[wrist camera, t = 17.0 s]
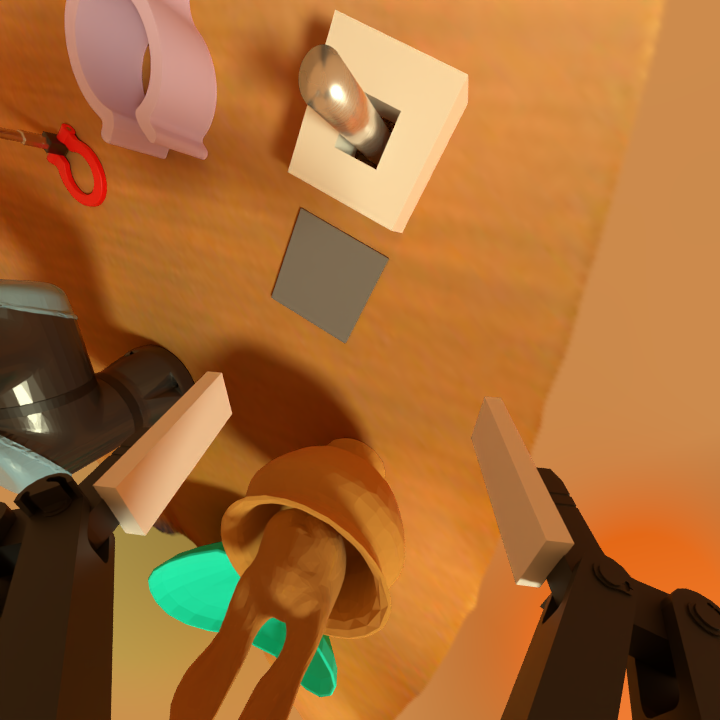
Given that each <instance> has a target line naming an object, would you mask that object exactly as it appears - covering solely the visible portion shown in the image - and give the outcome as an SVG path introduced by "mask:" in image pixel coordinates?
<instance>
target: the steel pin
mask: <svg viewBox="0 0 720 720" xmlns="http://www.w3.org/2000/svg"><path fill="white" fill-rule="evenodd" d="M299 89H300V93H301V95H302V97H303V99H304V101H305V102H306V103H307V104H308V105H309V106H310V107H311V108H312V109H313V110H314V111H315V112H317V113H318V114H319V115H320V116H321V117H322V118H323V119H324V120H326V121H327V122H328V123H329V124H330V125H331V126H332V127H333V128H334V129H336V130H337V131H338V132H339V133H340V134H341V135H342V136H343V137H345V138H346V139H347V140H348V141H349V142H350V143H351V144H352V145H354V146H355V147H356V148H357V149H358V150H359V151H360V152H361V153H362V154H364V155H365V156H366V157H367V158H368V159H369V160H370V161H371V162H373V163H374V164H376V165H378V164H379V162H380V159H381V157H382V155H383V152H384V150H385V148H386V145H387V143H388V140H389V138H390V136H391V132H390V131H389V129H388V128H387V126H386V125H385V123H384V122H383V120H382V119H381V117H380V116H379V114H378V113H377V111H376V110H375V108H374V107H373V105H372V104H371V102H370V101H369V99H368V98H367V96H366V94H365V93H364V91H363V90H362V88H361V87H360V85H359V84H358V82H357V81H356V79H355V78H354V76H353V75H352V73H351V72H350V70H349V69H348V67H347V66H346V64H345V63H344V61H343V60H342V58H341V57H340V55H339V54H338V52H337V51H336V50H335V49H334V48H332V47H331V46H329V45H324V44H323V45H317V46H315V47H313V48H312V49H311V50H310V51H309V52H308V53H307V54H306V55H305V57H304V59H303V61H302V63H301V66H300V70H299Z"/></svg>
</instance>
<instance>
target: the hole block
mask: <svg viewBox="0 0 720 720" xmlns="http://www.w3.org/2000/svg"><path fill="white" fill-rule="evenodd" d="M325 45H329V46H331V47H332V48H334V49H335V50H336V51H337V52H338V54H339V55H340V57H341V58H342V60H343V61H344V63H345V64H346V66H347V67H348V69H349V70H350V72H351V73H352V75H353V76H354V78H355V79H356V81H357V82H358V84H359V85H360V87H361V88H362V90H363V91H364V93H365V94H366V96H367V98H368V99H369V101H370V102H371V104H372V105H373V107H374V108H375V110H376V111H377V113H378V114H379V115H380V116H382V117H383V118H385V119H387V120H389V121H391V122H393V123H395V126H394V129H393V131H392V133H391V136H390V138H389V140H388V143H387V145H386V148H385V150H384V152H383V155H382V157H381V159H380V162H379V164H378V166H377V169H374V168H372V167H370V166H368V165H367V164H365V163H363V162H361V161H359V160H357V159H356V158H354V157H355V155H356V152H357V148H356V147H355V146H354V145H352V144H351V143H350V142H349V141H348V140H347V139H346V138H345V137H343V136H342V135H341V134H340V133H339V132H338V131H337V130H336V129H334V128H333V127H332V126H331V125H330V124H329V123H328V122H327V121H326V120H324V119H323V118H322V117H321V116H320V115H319V114H318V113H317V112H315V111H314V110H313V109H312V108H311V107H310V106H309V105H307V108H306V112H305V115H304V118H303V122H302V125H301V129H300V132H299V136H298V139H297V142H296V146H295V149H294V153H293V156H292V159H291V163H290V166H289V170H288V172H289V173H290V174H292V175H294V176H296V177H297V178H299V179H301V180H303V181H305V182H306V183H308V184H310V185H312V186H313V187H315V188H317V189H319V190H320V191H322V192H324V193H326V194H328V195H329V196H331V197H333V198H335V199H336V200H338V201H340V202H342V203H343V204H345V205H347V206H349V207H351V208H352V209H354V210H356V211H358V212H359V213H361V214H363V215H365V216H366V217H368V218H370V219H372V220H373V221H375V222H377V223H379V224H381V225H382V226H384V227H386V228H388V229H389V230H391V231H395V232H400V233H402V232H403V230H404V228H405V226H406V224H407V222H408V220H409V218H410V216H411V214H412V212H413V210H414V208H415V206H416V204H417V202H418V200H419V198H420V196H421V194H422V192H423V191H424V189H425V187H426V185H427V183H428V181H429V179H430V177H431V175H432V173H433V171H434V169H435V167H436V165H437V163H438V161H439V159H440V157H441V155H442V153H443V151H444V149H445V147H446V145H447V143H448V141H449V139H450V137H451V135H452V133H453V132H454V130H455V128H456V126H457V124H458V122H459V120H460V118H461V116H462V114H463V112H464V110H465V108H466V106H467V104H468V74H466V73H464V72H462V71H460V70H458V69H455V68H453V67H451V66H449V65H447V64H445V63H443V62H441V61H439V60H437V59H435V58H433V57H431V56H429V55H427V54H425V53H423V52H421V51H419V50H417V49H414V48H412V47H410V46H408V45H406V44H404V43H402V42H400V41H398V40H396V39H394V38H392V37H390V36H388V35H386V34H384V33H382V32H380V31H378V30H376V29H374V28H371V27H369V26H367V25H365V24H363V23H361V22H359V21H357V20H355V19H353V18H351V17H349V16H347V15H345V14H343V13H341V12H339V11H337V10H335V13H334V16H333V20H332V23H331V26H330V30H329V33H328V37H327V40H326V43H325Z"/></svg>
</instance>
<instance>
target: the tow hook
mask: <svg viewBox="0 0 720 720" xmlns="http://www.w3.org/2000/svg"><path fill="white" fill-rule="evenodd" d="M75 133H76V132H75V130H74V129H73V128H72V127H71V126H69V125H67V124H62V126H61V128H60V130H59V132H58V134H53V133H48V132H44V131H43V133H42V135H41V134H36V133H32V132H27V131H23V130H17V131H14V130H10V129H5V128H1V127H0V138H2V139H7V140H12V141H17V142H20V143H22V144H24V145H28V146H33V147H38V148H43V149H44V150H45V151H46V152H47V153H49V154H48V156H47V160H48V161H49V162H50V163H52V164H54V165H56V167H57V168H58V170H59V174H60V176H61V179H62V181H63V183H64V185H65V187H66V188H67V190H68V191H69V192H70V194H71V195H72V196H73V197H74V198H75V199H76V200H77V201H78V202H80V203H81V204H83V205H86V206H92V207H95V206H99V205H100V204H102V203H103V201H104V199H105V197H106V193H107V182H106V177H105V173H104V170H103V168H102V165H101V163H100V161H99V160H98V158H97V156H96V155H95V153H94V152H93V151H92V149H90V148H89V147H88V146H87V145H86V144H85V143H83V142H81V141H79V140H78V139H77V137H76V136H75ZM68 150H69V151H71V152H77V153H79V154H81V155H82V156H83V157H84V158H85V160H86V161H87V162H88V164H89V166H90V168H91V170H92V173H93V177H94V189H93V191H92V193H91V194H89V195H87V194H85V193H83V192H82V191H81V190H80V189H79V188H78V186H77V185H76V183H75V182H74V180H73V177H72V175H71V171H70V164H69V162H68V161H67V159H66V158H65V157H64V156H65V155H66V154H67V152H68Z"/></svg>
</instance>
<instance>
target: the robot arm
mask: <svg viewBox="0 0 720 720" xmlns="http://www.w3.org/2000/svg"><path fill="white" fill-rule="evenodd" d="M77 319H78V317H77V315H75V314H74V312H73V310H72V307H71V305H70V302H69V300H68V297H67V295H66V294H65V292H64V291H63V290H62V289H61V288H59V287H58V286H56V285H53V284H50V283H46V282H38V281H26V280H8V279H0V486H2V487H4V488H5V489H8V490H9V491H12V492H15V493H18V495H17V497H16V499H15V500H14V503H16V505H17V506H18V507H19V508H20V509H15V510H11V509H10V508H9V507H8V506H7V505H6V504H5V503H2V502H0V720H111V685H112V642H113V599H114V557H115V537H114V534H113V531H114V530H115V529H116V527H117V526H118V525H119V524H120V525H121V527H122V528H123V530H124V531H125V532H126V533H131V534H138V535H146V534H147V532H148V531H149V530H150V528H151V527H152V526H153V524H154V523H155V521H156V520H157V519H158V517H159V516H160V514H161V513H162V512H163V510H164V509H165V507H166V506H167V504H168V503H169V502H170V500H171V499H172V497H173V496H174V495H175V493H176V492H177V490H178V489H179V488H180V486H181V485H182V483H183V482H184V481H185V479H186V478H187V476H188V475H189V474H190V472H191V471H192V469H193V468H194V467H195V465H196V464H197V462H198V461H199V460H200V458H201V457H202V455H203V454H204V453H205V451H206V450H207V448H208V447H209V446H210V444H211V443H212V441H213V440H214V438H215V437H216V436H217V434H218V433H219V431H220V430H221V429H222V427H223V426H224V424H225V423H226V422H227V420H228V419H229V417H230V416H231V415H232V411H231V407H230V403H229V399H228V395H227V391H226V387H225V383H224V379H223V375H222V373H220V372H209V371H207V372H206V373H205V374H204V375H203V376H202V377H201V378H200V379H199V380H198V381H197V382H196V383H195V384H194V383H193V380H192V378H191V376H190V374H189V372H188V371H187V369H186V368H185V367H184V365H183V364H182V363H181V362H180V361H179V360H178V359H177V358H176V357H175V356H174V355H173V354H172V353H170V352H169V351H167V350H166V349H164V348H161V347H159V346H155V345H146V346H142V347H139V348H136V349H133V350H131V351H129V352H128V353H126V354H125V355H124V356H123V357H121V358H119V359H118V360H116V361H115V362H114V363H112V364H111V365H109V366H108V367H107V368H105V369H104V370H102V371H101V372H98V373H94V370H93V367H92V364H91V361H90V358H89V356H88V353H87V350H86V347H85V344H84V341H83V338H82V335H81V332H80V329H79V326H78V323H77ZM471 439H472V442H473V445H474V449H475V452H476V455H477V458H478V462H479V465H480V468H481V471H482V475H483V478H484V481H485V485H486V488H487V491H488V494H489V498H490V501H491V504H492V507H493V511H494V514H495V517H496V520H497V524H498V527H499V530H500V533H501V537H502V540H503V543H504V547H505V549H506V553H507V556H508V560H509V563H510V566H511V569H512V573H513V576H514V579H515V582H516V584H517V585H526V586H532V587H541V585H542V584H543V583H544V581H545V580H546V579H547V581H548V584H549V587H550V589H551V592H552V593H551V594H550V595H549V596H548V598H547V599H546V600H545V601H544V602H543V604H542V605H541V606H540V607H541V608H543V609H544V610H543V612H542V615H541V617H540V620H539V623H538V625H537V628H536V630H535V633H534V635H533V638H532V641H531V643H530V646H529V648H528V651H527V654H526V656H525V659H524V661H523V664H522V666H521V669H520V671H519V674H518V677H517V679H516V682H515V684H514V687H513V690H512V692H511V695H510V697H509V700H508V702H507V705H506V708H505V710H504V713H503V715H502V718H501V720H618V714H619V708H620V702H621V696H622V690H623V683H624V678H625V672H626V669H627V677H628V685H629V694H630V703H631V711H632V720H720V608H719V607H718V606H717V605H715V604H714V603H713V602H712V601H711V600H709V599H707V598H706V597H704V596H702V595H701V594H699V593H697V592H694V591H692V590H689V589H676V590H675V591H673V592H672V593H671V594H667V593H665V592H663V591H661V590H658V589H656V588H653V587H651V586H648V585H646V584H644V583H642V582H639V581H637V580H635V579H633V578H631V577H630V575H629V574H628V573H627V572H626V571H625V570H624V568H623V567H622V566H620V565H619V564H618V563H617V562H615V561H614V560H613V559H611V558H609V557H607V556H606V555H605V554H604V553H603V551H602V550H601V548H600V547H599V545H598V543H597V541H596V540H595V538H594V536H593V534H592V532H591V531H590V529H589V527H588V526H587V524H586V522H585V520H584V519H583V517H582V515H581V513H580V512H579V510H578V508H576V505H575V503H574V501H573V499H572V497H570V496H569V492H568V491H567V489H566V487H565V485H564V483H563V482H562V480H561V479H560V478H558V476H557V475H556V474H555V473H554V472H553V471H552V470H551V469H546V468H536V466H535V464H534V462H533V460H532V458H531V456H530V454H529V452H528V450H527V448H526V447H525V445H524V443H523V441H522V439H521V437H520V435H519V433H518V431H517V429H516V427H515V425H514V423H513V421H512V419H511V417H510V415H509V413H508V411H507V409H506V407H505V405H504V403H503V401H502V399H501V398H495V397H484V400H483V403H482V406H481V409H480V412H479V415H478V418H477V421H476V425H475V428H474V431H473V434H472V437H471ZM119 446H120V447H119ZM116 448H117V449H116ZM114 449H116V450H115V451H114V452H113V453H112V455H111V456H109V457H107V458H106V459H105V460H104V461H103V462H102V463H101V464H100V465H99V466H98V467H97V468H96V469H95V470H94V471H93V472H92V473H91V474H90V475H88V476H87V477H86V478H85V479H84V480H83V481H82V482H81V483H80V484H79V485H77V483H76V482H75V481H74V479H73V478H72V477H71V476H72V474H73V473H75V472H77V471H78V470H80V469H82V468H84V467H85V466H87V465H88V464H90V463H92V462H94V461H95V460H97V459H99V458H101V457H102V456H104V455H106V454H107V453H109V452H111V451H113V450H114Z"/></svg>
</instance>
